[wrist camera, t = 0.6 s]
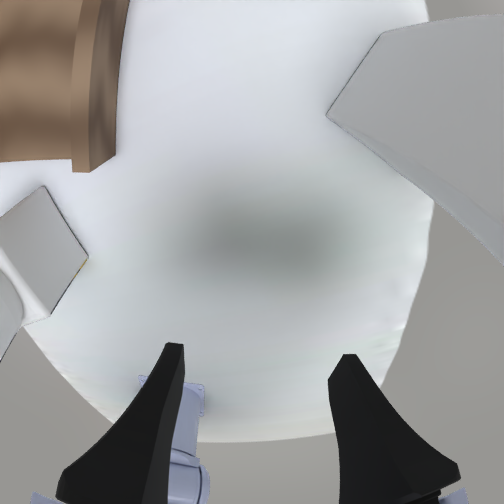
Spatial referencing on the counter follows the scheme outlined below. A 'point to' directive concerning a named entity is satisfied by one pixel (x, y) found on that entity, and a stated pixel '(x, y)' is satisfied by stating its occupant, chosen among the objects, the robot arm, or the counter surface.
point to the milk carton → (438, 115)
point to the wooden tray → (60, 79)
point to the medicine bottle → (34, 263)
